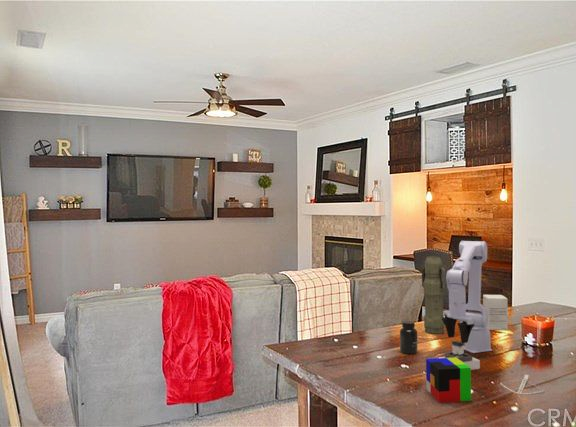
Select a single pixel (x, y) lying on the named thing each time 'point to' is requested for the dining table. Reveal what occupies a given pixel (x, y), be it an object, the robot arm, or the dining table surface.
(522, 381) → the crossbow
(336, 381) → the dining table surface
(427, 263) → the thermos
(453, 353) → the lens
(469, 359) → the camera body
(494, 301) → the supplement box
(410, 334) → the supplement bottle
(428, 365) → the puzzle toy
